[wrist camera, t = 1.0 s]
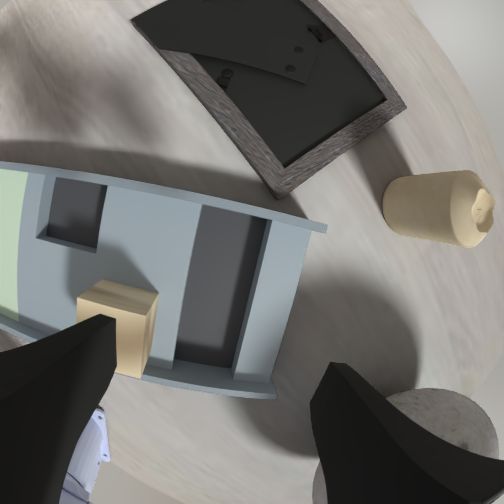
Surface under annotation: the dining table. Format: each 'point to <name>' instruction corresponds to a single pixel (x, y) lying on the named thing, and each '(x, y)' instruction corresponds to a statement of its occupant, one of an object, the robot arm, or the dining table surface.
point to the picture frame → (274, 79)
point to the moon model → (438, 425)
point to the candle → (440, 207)
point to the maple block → (124, 320)
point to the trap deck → (154, 270)
